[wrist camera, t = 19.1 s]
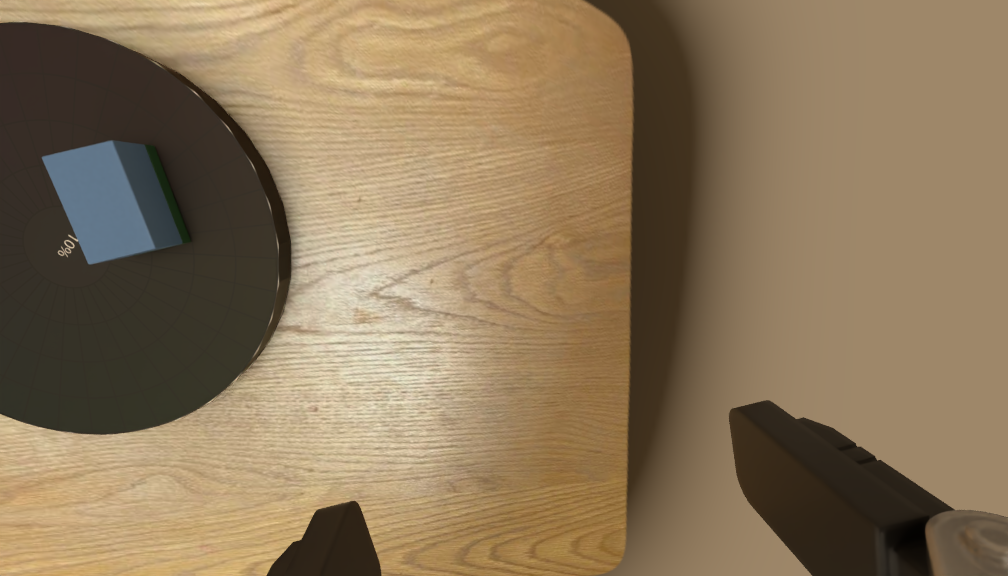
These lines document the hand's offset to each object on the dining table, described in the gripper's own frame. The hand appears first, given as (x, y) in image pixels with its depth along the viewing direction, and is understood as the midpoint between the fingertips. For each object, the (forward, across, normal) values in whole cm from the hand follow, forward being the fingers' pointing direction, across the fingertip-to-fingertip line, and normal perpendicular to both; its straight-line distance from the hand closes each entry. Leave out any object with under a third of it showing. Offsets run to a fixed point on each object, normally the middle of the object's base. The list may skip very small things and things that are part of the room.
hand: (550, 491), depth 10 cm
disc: (+30, +30, -9) cm, 44 cm away
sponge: (+27, +24, -11) cm, 37 cm away
